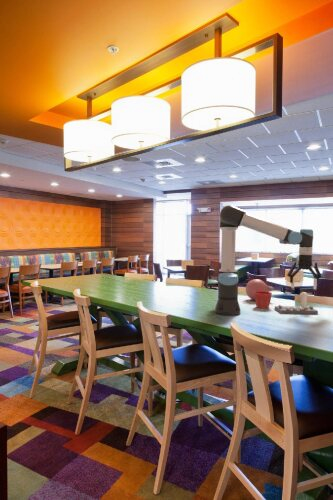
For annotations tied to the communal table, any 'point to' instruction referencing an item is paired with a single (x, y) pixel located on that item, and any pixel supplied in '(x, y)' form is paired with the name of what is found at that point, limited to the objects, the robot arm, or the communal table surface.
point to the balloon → (256, 287)
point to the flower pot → (262, 299)
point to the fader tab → (304, 300)
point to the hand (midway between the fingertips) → (303, 288)
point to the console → (295, 310)
